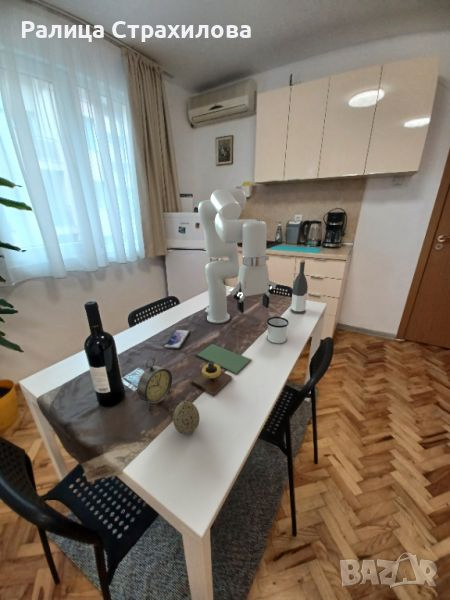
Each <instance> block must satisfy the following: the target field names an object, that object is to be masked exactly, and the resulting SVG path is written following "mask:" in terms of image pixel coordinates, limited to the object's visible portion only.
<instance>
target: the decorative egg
mask: <svg viewBox="0 0 450 600" xmlns="http://www.w3.org/2000/svg"><path fill="white" fill-rule="evenodd" d="M172 423H173V427H174V428H175V430H176V431H177V432H178V433H179V434H182V435H190V434H192V433H193V432H195V431H196V430H197V428H198V426H199V423H200V413H199V410H198V408H197V406H196V405H195V404H194V403H193V402H191V401H189V400H183V401H181V402H180V403H178V405H177V406H176V407H175V409H174V411H173V415H172Z"/></svg>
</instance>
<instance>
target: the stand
mask: <svg viewBox="0 0 450 600" xmlns="http://www.w3.org/2000/svg"><path fill="white" fill-rule="evenodd" d="M207 365H208V370H206V372H208V373H215V372H216V371H217V370H216V369H214V362H213V361H207ZM232 377H233V376H232V375H230V374H228V373H226V372H224V371H222V370H221V374H220V375H219V376H218V377H216V378H206V377H205V376H203V374H202V372H201V373H199V374H198V375H197V376H196V377H195V378H193V379H192V380H191V384H192V385H194V386H196V387H198V388H199V389H202V390H203V391H205V392H207V393H208V394H209V395H212V396H216V395H217V394H218V393H219V392H220V391H221V390H222V389H223V388H224V387H225V386H226V385H227V384H228V383H229V382H230V381H231V380H232Z"/></svg>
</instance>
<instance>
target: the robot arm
mask: <svg viewBox="0 0 450 600" xmlns="http://www.w3.org/2000/svg"><path fill="white" fill-rule="evenodd" d="M246 204H247V195H246V193H245V191H244V190H243V189H241V188H236V187H235V188H232V187H231V188H218V189H215V190H214V191H213V192H212V193H211V195H210V199H205V200H202V201H200V202H199V203H198V206H197V212H198V213H197V214H198V218H199V222H200V224H201V225H202V228H203V233H204V245H205V252H206V256H207V257H208V258H209V259H224V258H227V259H225V260H213V261H210V262H208V263H207V264H206V265H205V266H204V273H205V278H206V282H207V294H208V306H207V307H206V308H205V310H204V313H207V316H206V320H207V321H208V322H209V323H212V324H223V323H227V322H228V321H229V320H230V319H231V315H230V314H229V313H228V298H227V297H228V296H227V286H226V285H225V283H224V282H222V281H223V280H228V279H236V278H237V284H236V285H235V286H233V287H232V288H230V289H229V294H230V295H231V296H232V298H233V299H235V300H236V309H237V310H238V312H240V313H241V314H244V312H245V305H244V304H245V303H244V299H245V298H247V297H251V296H256V295H262V302H261V303H262V304H261V305H262V307H264V308H266V309H269V305H270V298H271V297H272V294H273V293H274V292H275V289H276V287H277V286H278V285H277V283H276V282H275V281H271V280H270V274H269V268H268V264H267V261H269V260H270V257H269V255H267V239H268V237H267V235H268V233H267V232H268V225H267V223H266V222H265V221H263V220H257V219H253V218H247V219H245V218H244V219H239V218H240V217H241V213H242V211H244V209H245V207H246ZM240 243H241V244H242V247H241V248H242V251H241V252H242V256H241V257H242V258H241V259H242V264H240V256H239V245H238V244H240ZM236 292H238V294H237V293H236Z"/></svg>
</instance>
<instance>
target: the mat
mask: <svg viewBox="0 0 450 600" xmlns="http://www.w3.org/2000/svg"><path fill="white" fill-rule="evenodd" d="M196 357H199V358H201V359H203V360H205V361H207V362H209V361H213V362H214V364H217V365H219V366H220V368H223V369H224V370H227V371H229V372H231V373H233V374H235V375H237V374H238V373H240V372H241V371H242V370H243V369H244V368H245V367H246V366H247V365H248V363H250V362H251V358H248V357H245V356H243V355H241V354H238V353H236V352H234V351H232V350H228V349H226V348H223V347H222V346H219V345H216V344H214V343H211V344H209V345H208V346H207V347H205V348H204V349H202V350H201V351H200V352H198V353H197V354H196Z"/></svg>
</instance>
